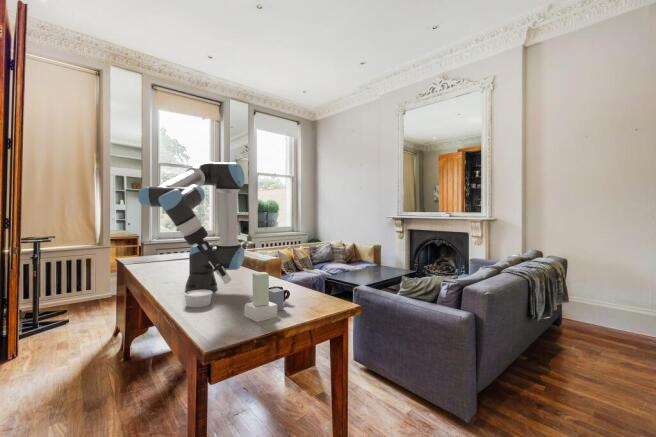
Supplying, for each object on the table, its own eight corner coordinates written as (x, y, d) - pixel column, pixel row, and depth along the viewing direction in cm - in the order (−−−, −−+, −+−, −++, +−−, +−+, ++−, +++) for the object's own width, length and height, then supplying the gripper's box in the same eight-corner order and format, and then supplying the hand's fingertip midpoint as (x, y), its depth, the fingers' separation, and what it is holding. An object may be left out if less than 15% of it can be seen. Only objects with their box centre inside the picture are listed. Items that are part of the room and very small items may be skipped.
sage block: (252, 303, 119) (252, 273, 119) (264, 301, 122) (264, 271, 122) (256, 306, 115) (255, 274, 115) (268, 304, 117) (268, 273, 117)
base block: (244, 316, 118) (244, 304, 118) (263, 311, 125) (263, 299, 125) (257, 322, 112) (257, 309, 112) (277, 317, 119) (277, 304, 118)
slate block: (266, 308, 127) (267, 289, 127) (276, 306, 131) (277, 287, 131) (273, 311, 124) (274, 292, 124) (283, 309, 127) (283, 290, 127)
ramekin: (185, 301, 134) (186, 290, 133) (212, 299, 137) (212, 288, 137) (182, 309, 123) (183, 297, 123) (212, 307, 127) (212, 295, 127)
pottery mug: (261, 306, 132) (261, 287, 136) (271, 309, 140) (271, 292, 144) (287, 301, 130) (286, 282, 133) (295, 305, 138) (294, 287, 142)
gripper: (179, 231, 116) (209, 274, 123) (187, 242, 95) (222, 293, 102) (197, 221, 119) (225, 263, 126) (208, 229, 98) (241, 279, 105)
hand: (224, 277), depth 114 cm, fingers open, 13 cm apart
